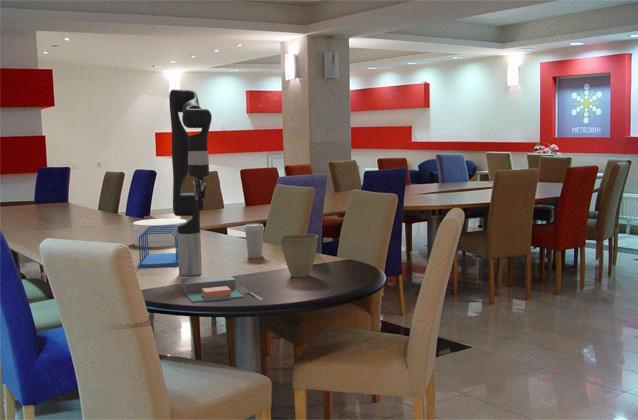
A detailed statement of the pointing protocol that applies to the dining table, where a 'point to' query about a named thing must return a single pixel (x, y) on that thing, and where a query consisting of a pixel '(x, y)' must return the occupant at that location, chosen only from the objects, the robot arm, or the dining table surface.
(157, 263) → the file sorter
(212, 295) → the tile
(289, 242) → the plant pot
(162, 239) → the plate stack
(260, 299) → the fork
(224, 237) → the dining table surface
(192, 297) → the mat
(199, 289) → the panel
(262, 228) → the coffee cup
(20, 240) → the dining table surface
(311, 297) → the dining table surface
